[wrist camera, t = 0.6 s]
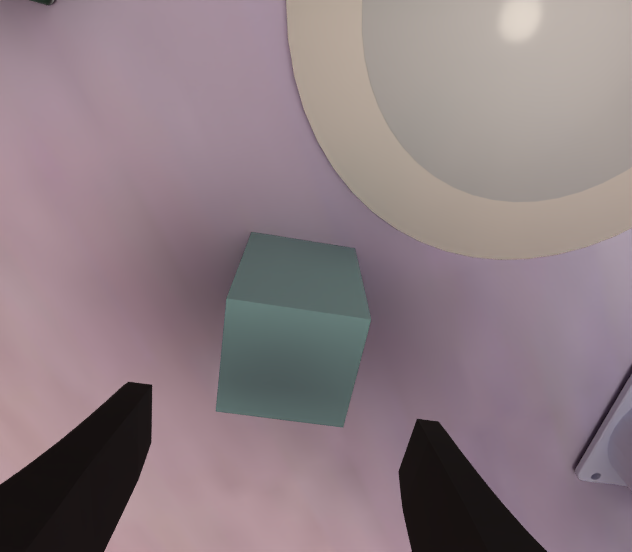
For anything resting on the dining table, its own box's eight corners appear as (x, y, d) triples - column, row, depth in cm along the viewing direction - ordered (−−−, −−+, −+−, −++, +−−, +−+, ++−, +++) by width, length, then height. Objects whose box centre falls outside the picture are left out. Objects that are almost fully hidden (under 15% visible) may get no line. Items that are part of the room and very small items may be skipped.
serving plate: (980, -296, 12) (1028, -323, 11) (658, 280, 20) (673, 289, 19) (342, -477, 11) (344, -522, 10) (259, 216, 18) (256, 223, 18)
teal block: (354, 248, 19) (371, 319, 14) (335, 334, 21) (343, 427, 16) (251, 231, 19) (226, 298, 13) (241, 320, 21) (215, 411, 15)
